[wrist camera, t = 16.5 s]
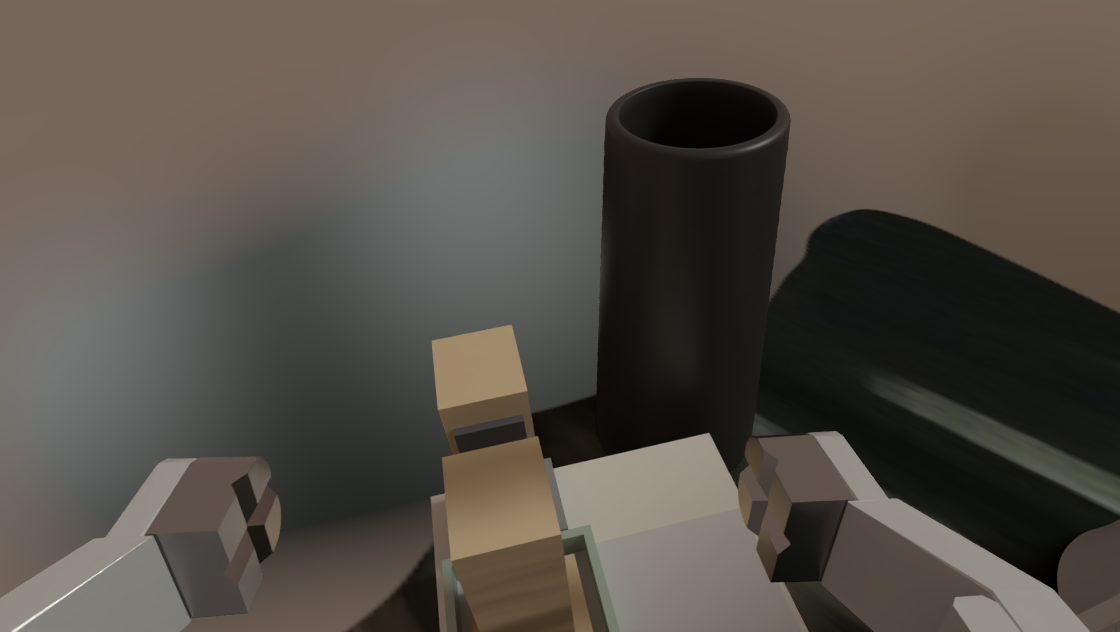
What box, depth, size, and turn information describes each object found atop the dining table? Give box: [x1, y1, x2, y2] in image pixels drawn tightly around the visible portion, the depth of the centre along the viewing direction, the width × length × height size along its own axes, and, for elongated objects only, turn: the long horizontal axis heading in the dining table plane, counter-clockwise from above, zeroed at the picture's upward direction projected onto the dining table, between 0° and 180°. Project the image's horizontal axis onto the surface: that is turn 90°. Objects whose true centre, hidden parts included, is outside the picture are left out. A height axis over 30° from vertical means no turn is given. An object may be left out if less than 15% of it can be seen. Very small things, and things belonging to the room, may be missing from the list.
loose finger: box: [442, 436, 593, 632], centre depth 28 cm, size 6×6×14 cm
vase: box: [596, 78, 790, 472], centre depth 46 cm, size 14×14×29 cm
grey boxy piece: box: [431, 325, 808, 632], centre depth 34 cm, size 15×19×24 cm
